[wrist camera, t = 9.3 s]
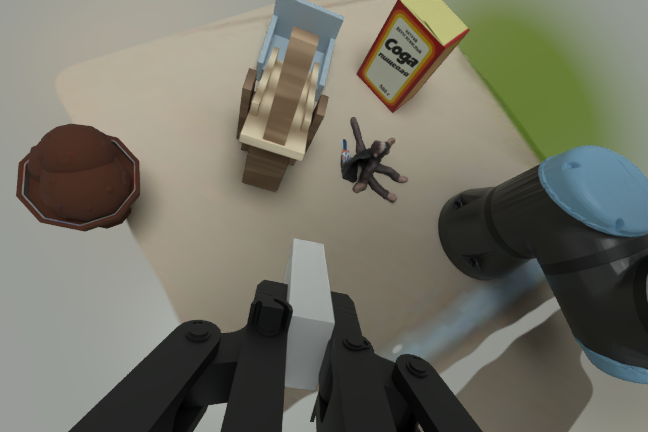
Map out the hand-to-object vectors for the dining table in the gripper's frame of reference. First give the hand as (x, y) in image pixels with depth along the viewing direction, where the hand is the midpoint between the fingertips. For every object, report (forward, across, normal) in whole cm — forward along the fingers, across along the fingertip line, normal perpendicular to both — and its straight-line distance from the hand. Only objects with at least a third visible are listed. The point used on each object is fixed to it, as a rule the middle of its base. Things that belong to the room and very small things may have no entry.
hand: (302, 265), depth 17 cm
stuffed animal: (+42, +11, +1) cm, 43 cm away
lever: (+31, -4, +7) cm, 32 cm away
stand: (+38, -5, -1) cm, 38 cm away
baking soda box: (+52, +12, +14) cm, 55 cm away
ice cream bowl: (+28, -23, -11) cm, 38 cm away
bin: (+48, -4, +13) cm, 50 cm away
